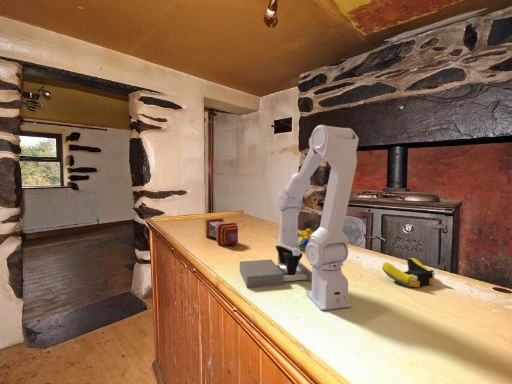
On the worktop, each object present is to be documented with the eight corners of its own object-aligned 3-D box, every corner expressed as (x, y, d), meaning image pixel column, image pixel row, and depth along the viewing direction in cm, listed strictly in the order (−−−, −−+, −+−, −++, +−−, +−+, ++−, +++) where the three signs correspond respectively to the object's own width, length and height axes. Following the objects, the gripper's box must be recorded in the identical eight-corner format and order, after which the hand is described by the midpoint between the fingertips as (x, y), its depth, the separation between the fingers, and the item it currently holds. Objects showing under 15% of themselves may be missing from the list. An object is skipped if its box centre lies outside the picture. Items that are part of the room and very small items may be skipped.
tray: (313, 280, 79) (313, 272, 78) (278, 283, 76) (278, 275, 76) (297, 266, 91) (297, 259, 91) (266, 268, 88) (267, 261, 88)
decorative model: (330, 240, 112) (306, 235, 104) (322, 258, 113) (298, 255, 105) (310, 227, 123) (287, 222, 114) (303, 244, 124) (280, 240, 115)
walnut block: (290, 265, 92) (290, 255, 92) (280, 266, 91) (281, 256, 91) (286, 262, 96) (287, 252, 95) (277, 262, 95) (278, 253, 95)
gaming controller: (378, 278, 82) (408, 292, 72) (379, 261, 81) (409, 272, 72) (410, 272, 88) (442, 283, 78) (411, 256, 87) (443, 265, 78)
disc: (299, 272, 81) (299, 268, 81) (282, 274, 80) (282, 269, 80) (292, 266, 87) (292, 262, 86) (276, 267, 85) (276, 263, 85)
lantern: (201, 217, 135) (225, 227, 110) (218, 215, 140) (244, 225, 114) (202, 235, 136) (224, 250, 110) (218, 233, 141) (244, 247, 115)
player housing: (283, 284, 76) (283, 273, 76) (247, 288, 74) (247, 276, 73) (271, 268, 89) (271, 259, 89) (239, 271, 86) (239, 261, 86)
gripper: (310, 233, 76) (309, 278, 77) (292, 224, 90) (291, 262, 91) (287, 234, 75) (286, 280, 76) (272, 225, 89) (272, 263, 90)
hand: (287, 270), depth 83 cm, fingers open, 6 cm apart
